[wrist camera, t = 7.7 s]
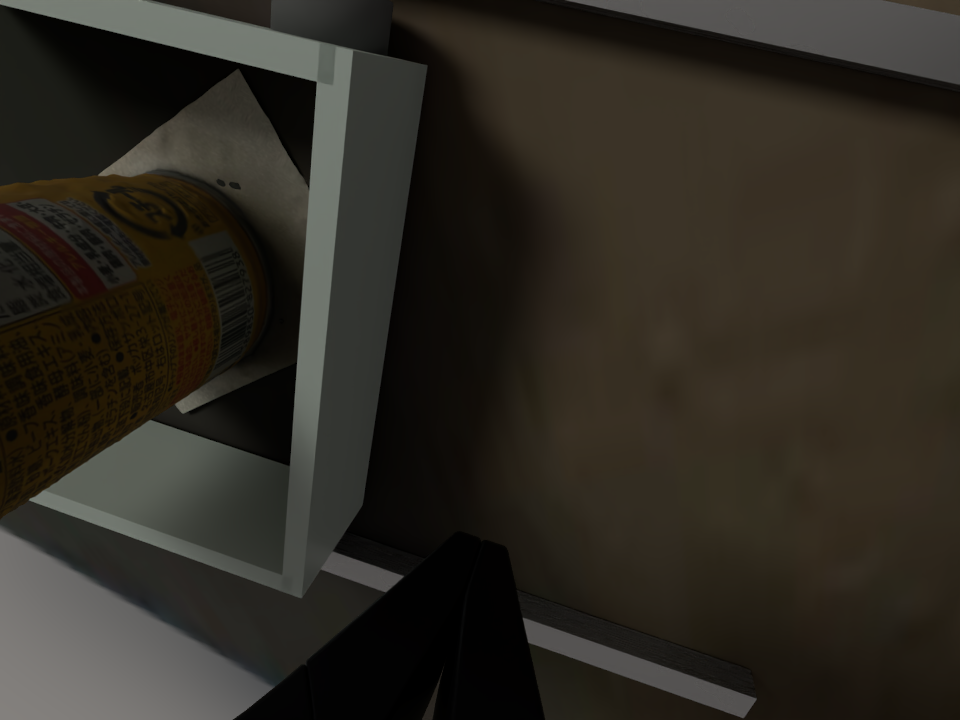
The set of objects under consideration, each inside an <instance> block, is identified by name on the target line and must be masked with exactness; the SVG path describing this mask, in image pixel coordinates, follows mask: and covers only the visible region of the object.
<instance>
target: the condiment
mask: <svg viewBox="0 0 960 720" xmlns="http://www.w3.org/2000/svg"><path fill="white" fill-rule="evenodd" d="M217 179H220V180H223V181H224V182H225V184H226V185H225V186H224V187H222V186H220V185H218V184H217V182H216V180H217ZM230 182H235V183H238V184H239V185H240V187H241V190H238V189H233V188H231V187H230V186H229V183H230ZM308 203H309V190H308V186H307V184H306V182H305V179H304V178H303V177H302V176H301V174H300V173H299V172H298V170H297V168H296V167H295V166H294V164H293V163H292V161H291V159H290V157H289V156H288V154H287V152H286V150H285V149H284V147H283V146H282V144H281V142H280V140H279V138H278V135H277V134H276V132H275V130H274V128H273V126H272V124H271V122H270V120H269V119H268V117H267V116H266V115H265V113H264V112H263V110H262V109H261V107H260V105H259V104H258V102H257V100H256V98H255V97H254V95H253V93H252V92H251V90H250V88H249V86H248V84H247V83H246V81H245V79H244V77H243V76H242V74H241V72H240V70H239V69H237V70H236V71H234V72H233V73H232V74H230V75H229V76H228V77H226V78H225V79H224V80H222V81H220V82H219V83H217V84H216V85H215V86H213V87H212V88H211V89H209V90H208V91H207V92H206V93H205V94H204V95H203V96H201V97H200V98H199V99H197V100H196V101H194V102H193V103H191V104H189V105H188V106H186V107H185V108H184V109H182V110H181V111H180V112H179V113H178V114H177V115H176V116H175V117H173V118H172V119H171V120H169V121H168V122H166V123H165V124H163V125H162V126H160V127H159V128H157V129H156V130H155V131H154V132H153V133H152V134H151V135H149V136H148V137H146V138H145V139H144V140H142V141H141V142H140V143H139V144H138V145H136V146H135V147H134V148H133V149H132V150H130V151H129V152H128V153H127V154H126V155H124V156H123V157H122V158H120V159H119V160H118V161H116V162H115V163H113V164H112V165H111V166H110V167H108V168H107V169H105V170H104V171H103V172H101V173H100V174H99V175H98V176H90V177H85V178H69V179H53V180H51V181H47V180H40V181H35V182H33V183H14V184H11V185H6V186H0V519H1V518H2V517H3V516H5V515H6V514H7V513H9V512H11V511H13V510H15V509H17V508H18V507H19V506H20V505H23V504H25V503H26V502H27V501H28V500H29V499H30V498H33V497H36V496H37V495H38V494H40V493H41V492H42V491H43V490H45V489H47V488H49V487H50V486H51V485H53V484H55V483H56V482H58V481H59V480H60V479H61V478H63V477H64V476H66V475H67V474H69V473H71V472H72V471H73V470H75V469H76V468H78V467H80V466H81V465H82V464H84V463H86V462H88V461H89V460H90V459H91V458H93V457H94V456H96V455H97V454H99V453H100V452H102V451H103V450H105V449H106V448H108V447H110V446H112V445H113V444H114V443H116V442H119V441H121V440H122V439H123V438H124V437H125V436H127V435H129V434H130V433H131V432H133V431H134V430H136V429H137V428H139V427H141V426H142V425H143V424H145V423H146V422H148V421H149V420H151V419H152V418H154V417H156V416H158V415H159V414H160V413H162V412H163V411H165V410H167V409H168V408H170V407H171V406H173V405H174V404H175V405H176V406H177V408H178V409H179V410H180V411H181V413H182V414H183V413H185V412H188V411H190V410H192V409H194V408H196V407H198V406H201V405H203V404H205V403H207V402H209V401H211V400H213V399H216V398H218V397H220V396H222V395H224V394H227V393H229V392H231V391H233V390H235V389H237V388H240V387H242V386H244V385H246V384H249V383H251V382H253V381H256V380H257V379H259V378H262V377H264V376H266V375H269V374H271V373H274V372H276V371H278V370H280V369H283V368H285V367H288V366H290V365H292V364H294V363H296V362H297V359H298V345H299V331H300V317H301V302H302V288H303V274H304V260H305V245H306V231H307V217H308ZM279 319H283V320H284V322H283V324H281V323H280V322H279Z"/></svg>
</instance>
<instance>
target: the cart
mask: <svg viewBox="0 0 960 720" xmlns="http://www.w3.org/2000/svg"><path fill="white" fill-rule="evenodd" d="M0 4H1V5H5V6H9V7H13V8H17V9H21V10H25V11H29V12H33V13H38V14H42V15H46V16H50V17H54V18H58V19H62V20H66V21H70V22H74V23H78V24H83V25H87V26H91V27H95V28H99V29H103V30H107V31H111V32H115V33H119V34H124V35H128V36H132V37H136V38H140V39H144V40H148V41H152V42H156V43H160V44H164V45H169V46H173V47H177V48H181V49H185V50H189V51H193V52H197V53H201V54H205V55H209V56H214V57H218V58H222V59H226V60H230V61H234V62H238V63H242V64H246V65H250V66H254V67H259V68H263V69H267V70H271V71H275V72H279V73H283V74H287V75H291V76H295V77H300V78H304V79H308V80H312V81H316V82H317V89H316V103H315V117H314V131H313V146H312V160H311V174H310V188H309V203H308V217H307V231H306V245H305V260H304V274H303V288H302V302H301V317H300V331H299V345H298V359H297V374H296V388H295V402H294V416H293V431H292V445H291V459H290V466H287V465H284V464H281V463H278V462H275V461H272V460H269V459H266V458H263V457H260V456H257V455H254V454H251V453H248V452H245V451H242V450H239V449H236V448H233V447H230V446H227V445H224V444H221V443H218V442H215V441H212V440H209V439H206V438H203V437H200V436H197V435H194V434H191V433H188V432H185V431H182V430H179V429H176V428H173V427H170V426H167V425H164V424H161V423H158V422H155V421H152V420H149V421H148V422H146V423H145V424H143V425H142V426H141V427H139V428H137V429H136V430H134V431H133V432H131V433H130V434H129V435H127V436H125V437H124V438H123V439H122V440H121V441H119V442H116V443H114V444H113V445H112V446H110V447H108V448H106V449H105V450H103V451H102V452H100V453H99V454H97V455H96V456H94V457H93V458H91V459H90V460H89V461H88V462H86V463H84V464H82V465H81V466H80V467H78V468H76V469H75V470H73V471H72V472H71V473H69V474H67V475H66V476H64V477H63V478H61V479H60V480H59V481H58V482H56V483H55V484H53V485H51V486H50V487H49V488H47V489H45V490H43V491H42V492H41V493H40V494H38V495H37V496H36V497H33V498H30V499H29V500H30V501H33V502H35V503H38V504H41V505H44V506H46V507H49V508H52V509H55V510H58V511H60V512H63V513H66V514H69V515H71V516H74V517H77V518H80V519H83V520H85V521H88V522H91V523H94V524H96V525H99V526H102V527H105V528H108V529H110V530H113V531H116V532H119V533H121V534H124V535H127V536H130V537H132V538H135V539H138V540H141V541H144V542H146V543H149V544H152V545H155V546H157V547H160V548H163V549H166V550H169V551H171V552H174V553H177V554H180V555H182V556H185V557H188V558H191V559H194V560H196V561H199V562H202V563H205V564H207V565H210V566H213V567H216V568H219V569H221V570H224V571H227V572H230V573H232V574H235V575H238V576H241V577H244V578H246V579H249V580H252V581H255V582H257V583H260V584H263V585H266V586H269V587H271V588H274V589H277V590H280V591H282V592H285V593H288V594H291V595H294V596H296V597H299V598H302V597H303V596H304V594H305V592H306V591H307V589H308V588H309V586H310V585H311V583H312V582H313V580H314V579H315V577H316V576H317V574H318V573H319V571H320V570H321V568H322V566H323V565H324V563H325V562H326V560H327V559H328V557H329V556H330V554H331V553H332V551H333V550H334V548H335V547H336V545H337V544H338V542H339V540H340V539H341V537H342V536H343V534H344V533H345V531H346V530H347V528H348V527H349V525H350V524H351V522H352V521H353V519H354V518H355V516H356V514H357V513H358V511H359V510H360V508H361V507H362V505H363V499H364V492H365V486H366V479H367V472H368V465H369V459H370V452H371V445H372V438H373V432H374V425H375V418H376V411H377V404H378V398H379V391H380V384H381V377H382V371H383V364H384V357H385V350H386V344H387V337H388V330H389V323H390V316H391V310H392V303H393V296H394V289H395V283H396V276H397V269H398V262H399V256H400V249H401V242H402V235H403V228H404V222H405V215H406V208H407V201H408V195H409V188H410V181H411V174H412V168H413V161H414V154H415V147H416V140H417V134H418V127H419V120H420V113H421V107H422V100H423V93H424V86H425V80H426V73H427V66H428V65H424V64H419V63H415V62H411V61H407V60H402V59H398V58H394V57H390V56H387V54H388V45H389V37H390V29H391V20H392V12H393V2H391V1H389V0H272V3H271V29H270V28H266V27H262V26H258V25H253V24H249V23H245V22H241V21H236V20H232V19H228V18H224V17H219V16H215V15H211V14H207V13H202V12H198V11H194V10H190V9H185V8H181V7H177V6H173V5H168V4H164V3H160V2H155V1H151V0H0Z"/></svg>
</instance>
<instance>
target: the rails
mask: <svg viewBox="0 0 960 720" xmlns="http://www.w3.org/2000/svg"><path fill="white" fill-rule="evenodd" d="M536 1H540V2H545V3H550V4H554V5H559V6H563V7H568V8H573V9H577V10H582V11H587V12H591V13H596V14H600V15H605V16H610V17H614V18H619V19H624V20H628V21H633V22H638V23H642V24H647V25H651V26H656V27H661V28H665V29H670V30H675V31H679V32H684V33H689V34H693V35H698V36H702V37H707V38H712V39H716V40H721V41H726V42H730V43H735V44H739V45H744V46H749V47H753V48H758V49H763V50H767V51H772V52H777V53H781V54H786V55H790V56H795V57H800V58H804V59H809V60H814V61H818V62H823V63H827V64H832V65H837V66H841V67H846V68H851V69H855V70H860V71H865V72H869V73H874V74H878V75H883V76H888V77H892V78H897V79H902V80H906V81H911V82H916V83H920V84H925V85H929V86H934V87H939V88H943V89H948V90H953V91H957V92H960V16H958V15H953V14H948V13H943V12H938V11H933V10H928V9H923V8H918V7H913V6H908V5H903V4H898V3H893V2H888V1H883V0H536ZM423 560H424V558H422V557H419V556H416V555H413V554H410V553H407V552H404V551H401V550H398V549H395V548H392V547H389V546H386V545H383V544H381V543H378V542H375V541H372V540H369V539H366V538H363V537H360V536H357V535H354V534H351V533H348V532H345V533H344V534H343V536H342V537H341V539H340V540H339V542H338V544H337V545H336V547H335V548H334V550H333V551H332V553H331V554H330V556H329V557H328V559H327V560H326V562H325V563H324V565H323V566H322V568H321V570H324V571H327V572H330V573H332V574H335V575H338V576H341V577H344V578H347V579H350V580H352V581H355V582H358V583H361V584H364V585H367V586H369V587H372V588H375V589H378V590H381V591H384V592H387V591H388V590H389V589H390V588H391V587H392V586H394V585H395V584H396V583H397V582H398V581H399V580H401V579H402V578H403V577H404V576H405V575H406V574H408V573H409V572H410V571H411V570H412V569H413V568H415V567H416V566H417V565H418V564H419V563H420V562H422V561H423ZM517 594H518V598H519V603H520V607H521V612H522V617H523V621H524V626H525V630H526V635H527V639H528V643H531V644H534V645H537V646H540V647H543V648H545V649H548V650H551V651H554V652H557V653H560V654H563V655H565V656H568V657H571V658H574V659H577V660H580V661H582V662H585V663H588V664H591V665H594V666H597V667H599V668H602V669H605V670H608V671H611V672H614V673H616V674H619V675H622V676H625V677H628V678H631V679H634V680H636V681H639V682H642V683H645V684H648V685H651V686H653V687H656V688H659V689H662V690H665V691H668V692H670V693H673V694H676V695H679V696H682V697H685V698H687V699H690V700H693V701H696V702H699V703H702V704H705V705H707V706H710V707H713V708H716V709H719V710H722V711H724V712H727V713H730V714H733V715H736V716H739V717H741V718H744V717H745V716H746V714H747V713H748V711H749V710H750V708H751V707H752V705H753V704H754V703H755V701H756V700H757V697H756V692H755V688H754V683H753V679H752V674H751V670H749V669H746V668H743V667H740V666H737V665H735V664H732V663H729V662H726V661H723V660H720V659H717V658H714V657H711V656H708V655H705V654H702V653H699V652H696V651H694V650H691V649H688V648H685V647H682V646H679V645H676V644H673V643H670V642H667V641H664V640H661V639H658V638H656V637H653V636H650V635H647V634H644V633H641V632H638V631H635V630H632V629H629V628H626V627H623V626H620V625H617V624H615V623H612V622H609V621H606V620H603V619H600V618H597V617H594V616H591V615H588V614H585V613H582V612H579V611H577V610H574V609H571V608H568V607H565V606H562V605H559V604H556V603H553V602H550V601H547V600H544V599H541V598H539V597H536V596H533V595H530V594H527V593H524V592H521V591H518V590H517Z"/></svg>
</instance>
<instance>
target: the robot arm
mask: <svg viewBox="0 0 960 720" xmlns="http://www.w3.org/2000/svg"><path fill="white" fill-rule="evenodd" d="M480 544H481V545H480ZM446 657H447V658H446ZM445 661H446V662H445ZM444 664H445V665H444ZM443 667H444V669H443ZM442 670H443V672H442ZM441 673H442V676H441V680H440V684H439V689H438V693H437V698H436V703H435V709H434V714H433V719H432V720H545V716H544V712H543V707H542V703H541V698H540V694H539V689H538V685H537V680H536V675H535V671H534V666H533V662H532V657H531V653H530V648H529V644H528V639H527V635H526V630H525V626H524V621H523V617H522V612H521V607H520V603H519V598H518V594H517V589H516V585H515V580H514V576H513V571H512V567H511V562H510V558H509V553H508V550H507V548H506V547H505V546H503V545H500V544H497V543H494V542H491V541H488V540H483V541H482V543H481V540H480V538H478V537H476V536H473V535H470V534H467V533H464V532H461V531H459V532H456V533H454V534H453V535H452V536H451V537H450V538H448V539H447V540H446V541H445V542H444V543H443V544H441V545H440V546H439V547H438V548H437V549H436V550H434V551H433V552H432V553H431V554H430V555H429V556H427V557H426V558H425V559H424V560H423V561H422V562H420V563H419V564H418V565H417V566H416V567H415V568H413V569H412V570H411V571H410V572H409V573H408V574H406V575H405V576H404V577H403V578H402V579H401V580H399V581H398V582H397V583H396V584H395V585H394V586H392V587H391V588H390V589H389V590H388V591H387V592H386V593H384V594H383V595H382V596H381V597H380V598H379V599H377V600H376V601H375V602H374V603H373V604H372V605H370V606H369V607H368V608H367V609H366V610H365V611H363V612H362V613H361V614H360V615H359V616H358V617H356V618H355V619H354V620H353V621H352V622H351V623H349V624H348V625H347V626H346V627H345V628H344V629H342V630H341V631H340V632H339V633H338V634H337V635H335V636H334V637H333V638H332V639H331V640H330V641H328V642H327V643H326V644H325V645H324V646H323V647H321V648H320V649H319V650H318V651H317V652H316V653H314V654H313V655H312V656H311V657H310V658H309V659H307V661H306V664H305V665H304V664H302V665H300V666H299V667H298V668H297V669H295V670H294V671H293V672H292V673H291V674H290V675H289V676H287V677H286V678H285V679H284V680H283V681H282V682H280V683H279V684H278V685H277V686H275V687H274V688H273V689H272V690H270V691H269V692H268V693H267V694H266V695H265V696H263V697H262V698H261V699H259V700H258V701H257V702H256V703H254V704H253V705H252V706H251V707H249V708H248V709H247V710H246V711H244V712H243V713H242V714H240V715H239V716H237V717H236V718H235V719H233V720H422V718H423V716H424V713H425V711H426V709H427V707H428V704H429V702H430V700H431V698H432V695H433V693H434V691H435V688H436V686H437V683H438V681H439V678H440V675H441Z"/></svg>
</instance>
